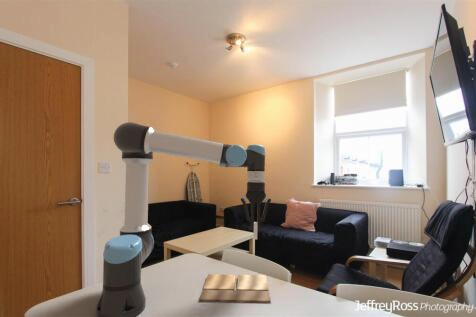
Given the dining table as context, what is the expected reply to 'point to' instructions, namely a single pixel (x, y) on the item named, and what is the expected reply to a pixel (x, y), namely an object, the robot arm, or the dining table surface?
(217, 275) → the striped wooden square slab
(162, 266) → the dining table surface
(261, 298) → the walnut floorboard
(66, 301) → the dining table surface
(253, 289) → the square wooden panel
